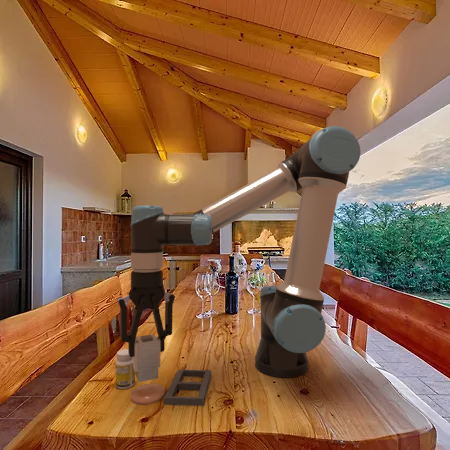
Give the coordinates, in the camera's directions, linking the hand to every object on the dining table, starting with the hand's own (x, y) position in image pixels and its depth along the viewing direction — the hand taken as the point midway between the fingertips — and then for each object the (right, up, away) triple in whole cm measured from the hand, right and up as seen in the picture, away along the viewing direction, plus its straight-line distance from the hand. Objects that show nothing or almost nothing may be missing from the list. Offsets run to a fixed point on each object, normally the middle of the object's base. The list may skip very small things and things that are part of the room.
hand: (146, 367), depth 76 cm
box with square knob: (0, -2, 0) cm, 2 cm away
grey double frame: (+10, -7, +3) cm, 12 cm away
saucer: (0, -7, 0) cm, 7 cm away
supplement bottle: (-7, -7, +5) cm, 11 cm away
